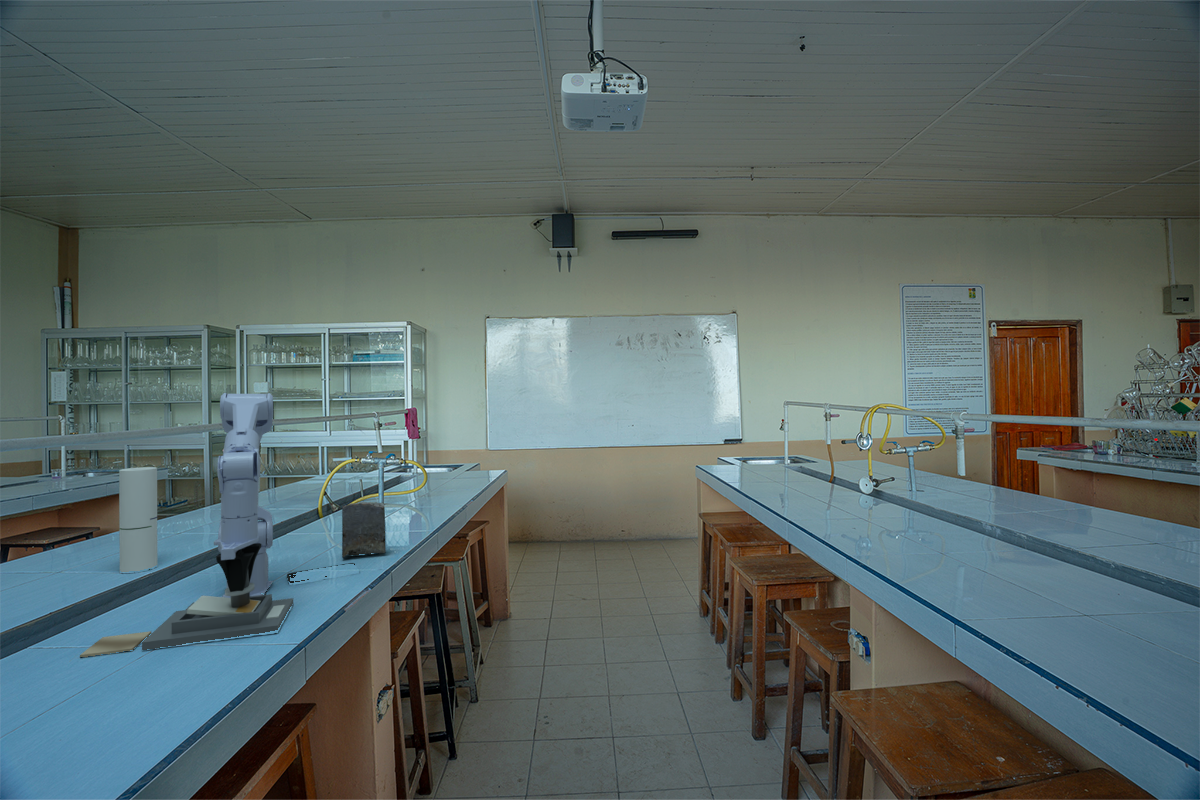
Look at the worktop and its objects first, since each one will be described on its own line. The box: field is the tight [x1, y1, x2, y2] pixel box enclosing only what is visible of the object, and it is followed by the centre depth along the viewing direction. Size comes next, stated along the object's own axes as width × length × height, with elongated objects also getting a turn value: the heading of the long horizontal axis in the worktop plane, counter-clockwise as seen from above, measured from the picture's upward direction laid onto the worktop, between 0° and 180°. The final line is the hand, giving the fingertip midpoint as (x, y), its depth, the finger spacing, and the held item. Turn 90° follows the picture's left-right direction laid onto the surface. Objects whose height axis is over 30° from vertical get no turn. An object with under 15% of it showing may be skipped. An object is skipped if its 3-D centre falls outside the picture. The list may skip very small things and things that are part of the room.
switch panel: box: [141, 593, 294, 651], centre depth 100 cm, size 14×20×4 cm
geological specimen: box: [341, 501, 387, 558], centre depth 144 cm, size 11×6×15 cm, turn 114°
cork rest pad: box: [79, 630, 152, 658], centre depth 92 cm, size 7×7×1 cm
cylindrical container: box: [118, 466, 158, 572], centre depth 133 cm, size 7×7×25 cm
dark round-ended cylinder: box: [224, 571, 254, 607], centre depth 101 cm, size 5×5×9 cm
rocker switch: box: [187, 595, 261, 616], centre depth 100 cm, size 7×10×1 cm
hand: (239, 587), depth 101 cm, fingers closed on dark round-ended cylinder, 3 cm apart
